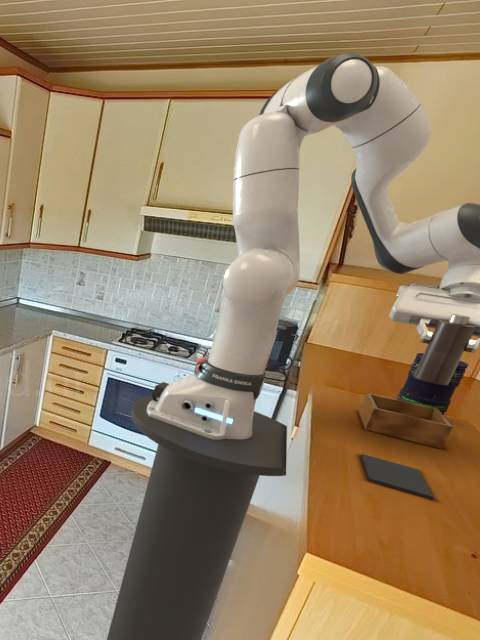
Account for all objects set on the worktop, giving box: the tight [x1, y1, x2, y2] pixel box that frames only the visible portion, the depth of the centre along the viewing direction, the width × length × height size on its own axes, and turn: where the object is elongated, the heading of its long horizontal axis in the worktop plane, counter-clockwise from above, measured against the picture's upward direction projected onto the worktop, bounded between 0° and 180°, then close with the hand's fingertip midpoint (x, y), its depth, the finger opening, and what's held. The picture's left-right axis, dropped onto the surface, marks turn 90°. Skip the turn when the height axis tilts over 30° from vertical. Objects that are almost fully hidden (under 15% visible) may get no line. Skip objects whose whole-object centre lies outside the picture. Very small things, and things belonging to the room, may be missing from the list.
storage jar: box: [396, 352, 469, 417], centre depth 123 cm, size 10×10×15 cm
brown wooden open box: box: [358, 392, 454, 450], centre depth 113 cm, size 14×14×5 cm
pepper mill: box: [414, 314, 476, 385], centre depth 93 cm, size 5×5×13 cm
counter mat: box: [360, 453, 435, 500], centre depth 90 cm, size 9×12×1 cm
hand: (447, 345), depth 93 cm, fingers closed on pepper mill, 5 cm apart
